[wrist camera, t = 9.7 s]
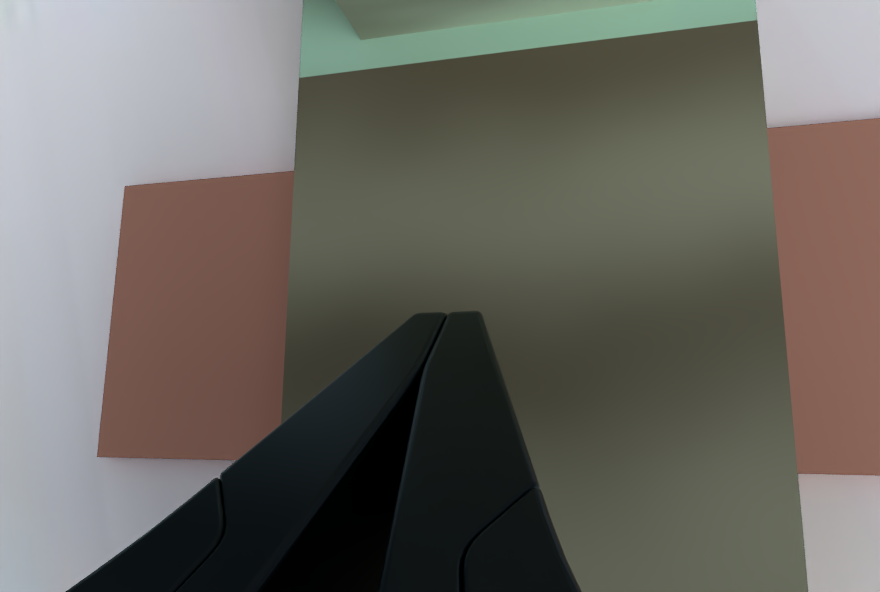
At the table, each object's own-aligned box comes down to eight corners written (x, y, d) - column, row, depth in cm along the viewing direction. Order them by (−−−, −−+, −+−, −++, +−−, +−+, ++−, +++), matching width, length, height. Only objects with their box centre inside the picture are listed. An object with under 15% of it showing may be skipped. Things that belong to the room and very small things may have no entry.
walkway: (776, 716, 14) (827, 805, 11) (334, 669, 17) (264, 731, 13) (707, -172, 18) (728, -304, 15) (362, -105, 21) (314, -206, 17)
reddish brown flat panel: (1148, 480, 13) (1164, 482, 13) (107, 456, 19) (97, 456, 19) (1080, 107, 15) (1092, 99, 14) (133, 190, 21) (124, 185, 20)
